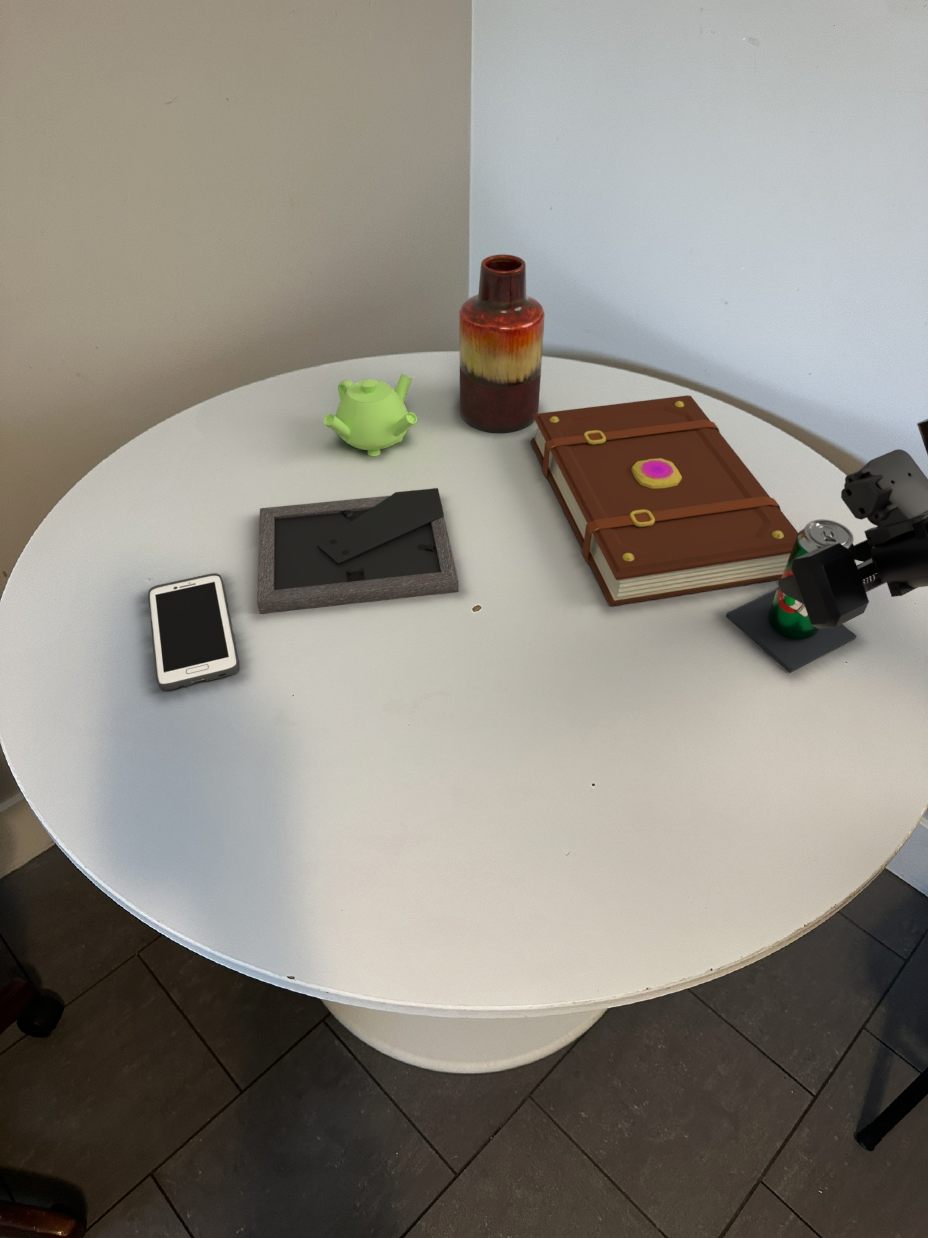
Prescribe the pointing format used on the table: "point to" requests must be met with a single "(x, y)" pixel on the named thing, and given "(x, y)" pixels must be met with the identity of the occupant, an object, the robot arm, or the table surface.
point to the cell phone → (191, 632)
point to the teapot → (372, 414)
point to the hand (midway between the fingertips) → (815, 569)
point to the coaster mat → (779, 647)
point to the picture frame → (354, 551)
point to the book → (660, 500)
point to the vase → (500, 349)
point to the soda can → (785, 610)
